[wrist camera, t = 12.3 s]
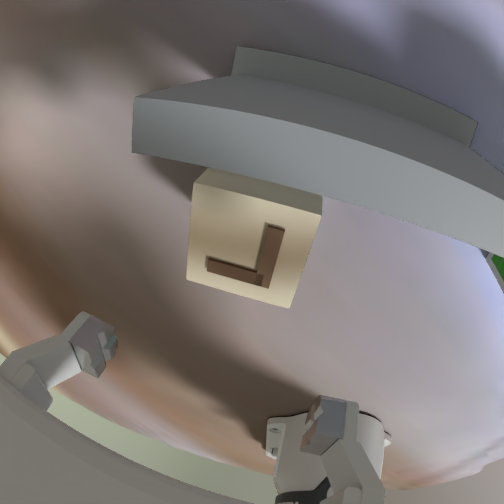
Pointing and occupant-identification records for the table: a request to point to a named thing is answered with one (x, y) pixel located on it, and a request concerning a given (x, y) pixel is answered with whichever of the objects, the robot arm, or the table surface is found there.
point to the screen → (331, 141)
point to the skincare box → (497, 267)
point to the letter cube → (250, 235)
